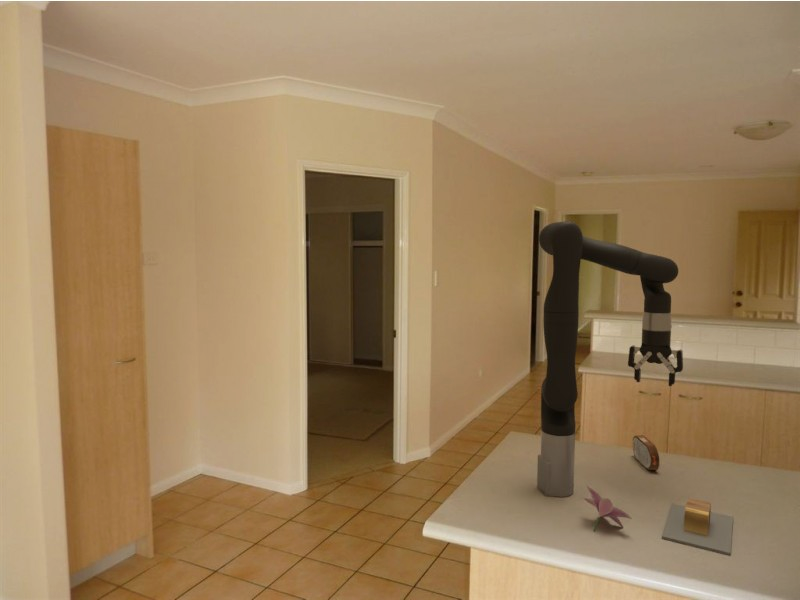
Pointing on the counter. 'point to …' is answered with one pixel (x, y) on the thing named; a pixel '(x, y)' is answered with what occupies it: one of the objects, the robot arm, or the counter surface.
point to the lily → (605, 507)
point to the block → (697, 516)
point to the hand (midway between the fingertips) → (654, 383)
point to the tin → (646, 452)
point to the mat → (713, 541)
